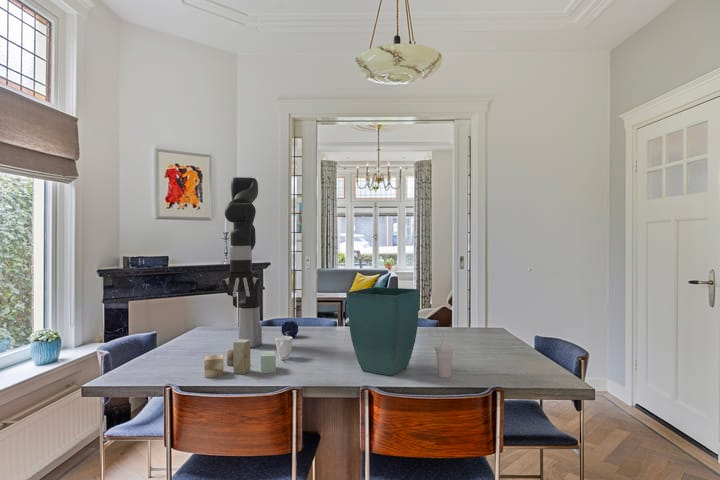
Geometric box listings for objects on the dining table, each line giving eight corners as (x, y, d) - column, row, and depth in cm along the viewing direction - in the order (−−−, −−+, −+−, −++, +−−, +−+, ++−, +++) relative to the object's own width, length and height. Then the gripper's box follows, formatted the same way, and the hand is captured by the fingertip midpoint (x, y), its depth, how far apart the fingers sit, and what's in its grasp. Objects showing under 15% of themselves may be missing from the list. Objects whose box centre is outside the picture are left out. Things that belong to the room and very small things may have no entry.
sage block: (274, 367, 160) (274, 350, 160) (275, 372, 153) (275, 355, 153) (260, 368, 158) (260, 351, 158) (261, 373, 152) (261, 356, 152)
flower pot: (396, 381, 141) (395, 295, 141) (345, 372, 151) (345, 292, 151) (421, 366, 158) (420, 289, 158) (374, 359, 168) (373, 286, 168)
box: (244, 374, 151) (243, 342, 151) (232, 373, 152) (232, 342, 152) (251, 369, 156) (250, 339, 156) (240, 369, 157) (239, 338, 157)
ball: (296, 338, 206) (296, 322, 206) (280, 339, 207) (280, 323, 207) (299, 335, 214) (298, 319, 214) (283, 335, 215) (283, 320, 215)
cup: (294, 355, 175) (294, 335, 175) (289, 362, 165) (289, 341, 165) (277, 355, 175) (277, 335, 175) (271, 362, 165) (271, 341, 165)
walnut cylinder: (236, 361, 167) (236, 348, 167) (243, 364, 164) (243, 351, 164) (224, 364, 164) (224, 351, 164) (231, 367, 160) (231, 353, 160)
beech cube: (223, 371, 155) (223, 354, 155) (222, 375, 150) (222, 358, 150) (205, 372, 154) (205, 355, 154) (204, 377, 148) (204, 360, 148)
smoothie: (433, 373, 149) (432, 332, 149) (451, 372, 150) (450, 332, 150) (438, 379, 143) (437, 336, 143) (456, 378, 143) (456, 336, 143)
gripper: (219, 259, 149) (220, 309, 148) (261, 258, 152) (262, 307, 152) (220, 258, 156) (221, 306, 156) (260, 258, 160) (261, 304, 160)
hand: (241, 306), depth 154 cm, fingers open, 3 cm apart
